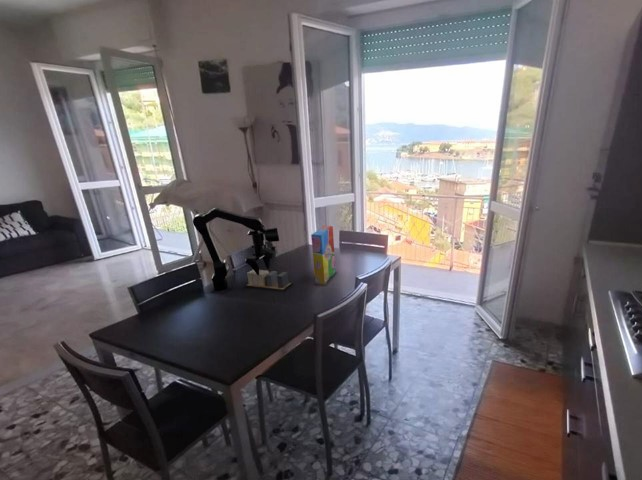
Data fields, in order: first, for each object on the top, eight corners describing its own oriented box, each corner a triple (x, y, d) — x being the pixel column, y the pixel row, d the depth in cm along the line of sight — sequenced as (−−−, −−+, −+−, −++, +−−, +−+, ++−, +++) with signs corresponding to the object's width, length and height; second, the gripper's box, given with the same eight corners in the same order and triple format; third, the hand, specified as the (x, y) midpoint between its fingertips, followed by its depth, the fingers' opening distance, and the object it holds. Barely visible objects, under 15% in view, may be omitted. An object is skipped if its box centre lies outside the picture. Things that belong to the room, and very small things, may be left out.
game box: (324, 285, 188) (320, 235, 177) (315, 285, 189) (310, 234, 178) (335, 272, 206) (332, 225, 195) (326, 271, 207) (323, 225, 196)
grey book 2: (283, 288, 183) (281, 276, 180) (278, 287, 184) (276, 275, 181) (288, 283, 188) (287, 272, 186) (284, 283, 189) (282, 272, 186)
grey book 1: (272, 286, 185) (270, 275, 182) (267, 286, 186) (265, 274, 183) (278, 282, 190) (276, 271, 187) (273, 282, 191) (272, 270, 188)
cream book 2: (258, 285, 187) (256, 273, 185) (254, 284, 188) (252, 273, 185) (264, 281, 192) (263, 270, 190) (260, 280, 193) (258, 269, 190)
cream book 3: (263, 286, 186) (262, 274, 184) (259, 285, 187) (257, 274, 184) (270, 281, 192) (268, 270, 189) (265, 281, 192) (263, 270, 190)
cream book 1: (253, 284, 188) (251, 273, 185) (248, 284, 189) (246, 272, 186) (259, 280, 193) (258, 269, 191) (255, 280, 194) (253, 269, 191)
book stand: (283, 291, 182) (281, 280, 180) (246, 287, 188) (244, 276, 186) (291, 284, 190) (290, 274, 187) (256, 281, 196) (254, 270, 193)
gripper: (262, 249, 170) (266, 279, 176) (282, 239, 186) (285, 267, 192) (242, 247, 173) (247, 277, 179) (263, 237, 189) (267, 265, 195)
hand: (263, 271), depth 187 cm, fingers open, 9 cm apart
